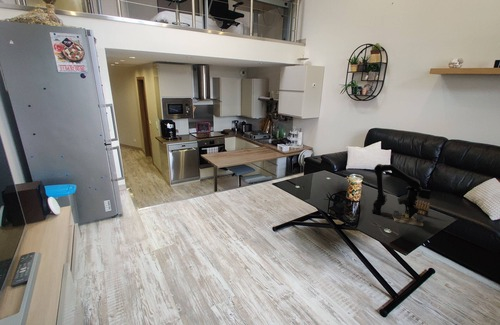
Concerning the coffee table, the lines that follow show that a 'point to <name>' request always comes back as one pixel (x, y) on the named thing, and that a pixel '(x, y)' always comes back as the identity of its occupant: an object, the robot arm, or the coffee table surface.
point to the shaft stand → (415, 221)
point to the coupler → (407, 215)
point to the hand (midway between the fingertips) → (408, 215)
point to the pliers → (381, 227)
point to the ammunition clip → (422, 208)
